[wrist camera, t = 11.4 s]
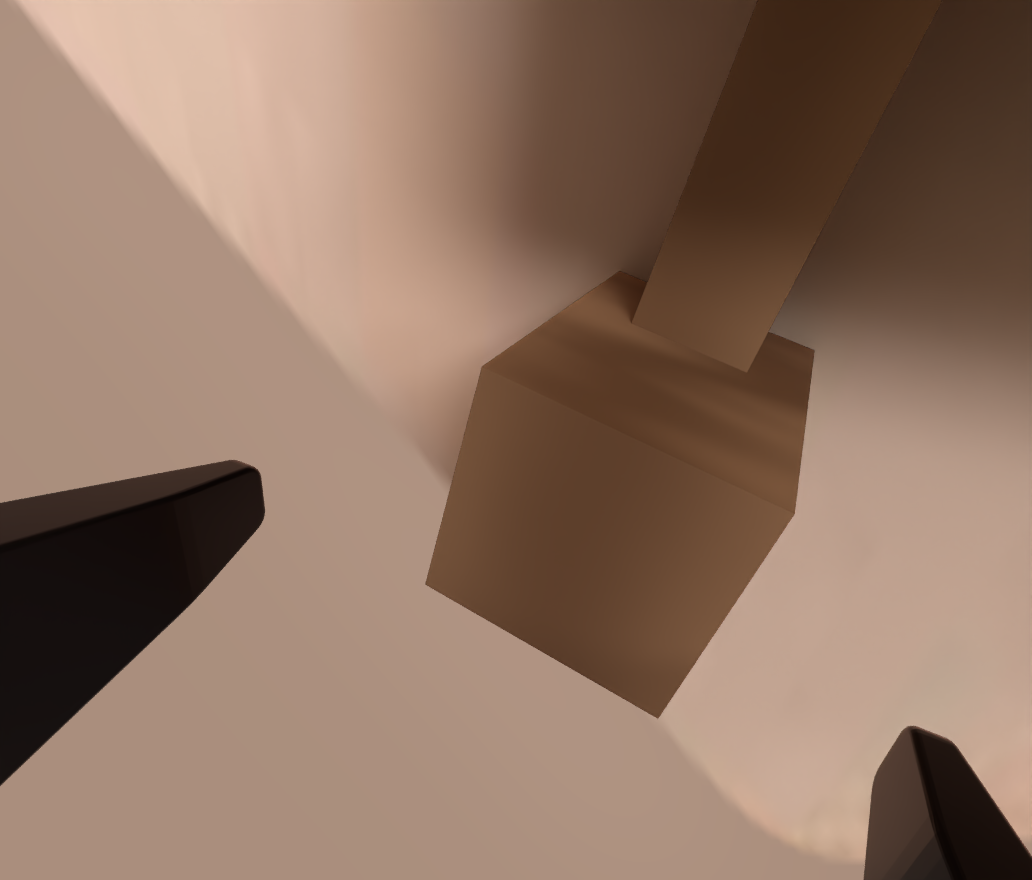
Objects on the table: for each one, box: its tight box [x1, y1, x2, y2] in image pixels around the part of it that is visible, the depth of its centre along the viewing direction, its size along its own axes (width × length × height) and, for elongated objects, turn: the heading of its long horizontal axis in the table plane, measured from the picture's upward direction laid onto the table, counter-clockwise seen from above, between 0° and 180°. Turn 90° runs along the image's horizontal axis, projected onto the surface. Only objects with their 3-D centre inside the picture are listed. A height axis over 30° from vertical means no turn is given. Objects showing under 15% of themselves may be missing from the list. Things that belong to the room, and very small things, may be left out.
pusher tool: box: [426, 0, 942, 718], centre depth 8 cm, size 4×14×6 cm, turn 163°
